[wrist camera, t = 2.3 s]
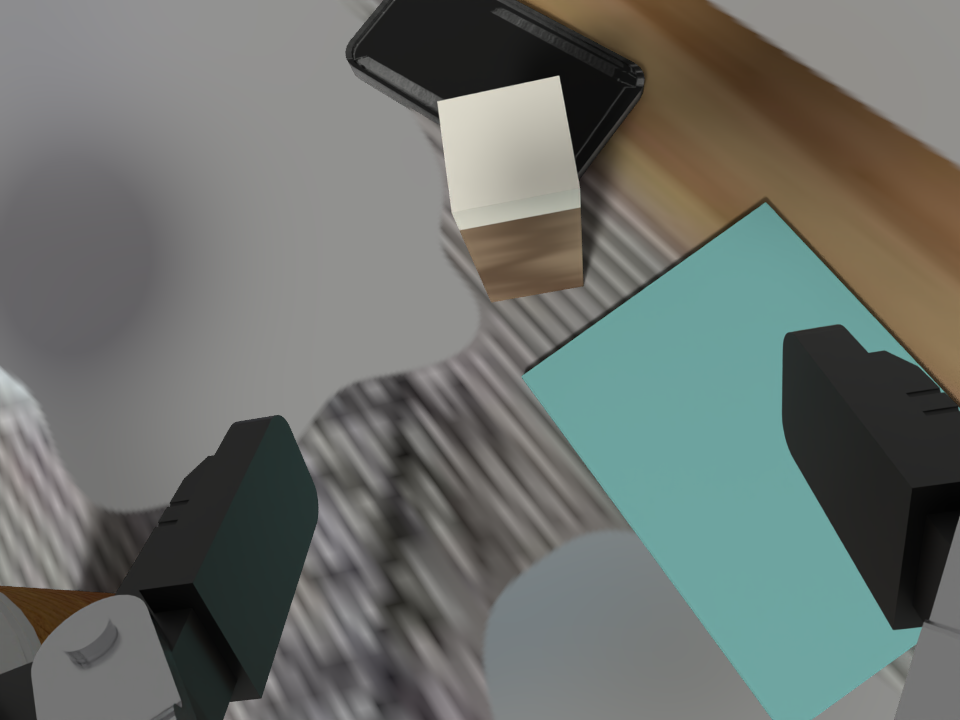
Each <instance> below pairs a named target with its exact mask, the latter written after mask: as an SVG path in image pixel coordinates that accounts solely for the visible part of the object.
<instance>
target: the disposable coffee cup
mask: <svg viewBox="0 0 960 720" xmlns="http://www.w3.org/2000/svg"><path fill="white" fill-rule="evenodd" d="M111 596H115V594H113V593H100V592H86V591H71V590H53V589H40V588H26V587H12V586H0V674H2V673H5V672H7V671H10V670H12V669H15V668H17V667H20V666H23V665H25V664H28V663H30V662H33V660H34V658H35V656H36V654H37V652H38V650H39V648H40V647H41V645H42V644H43V642H44V641H45V640H46V639H47V637H48V636H49V635H50V634H51V633H52V632H53V631H54V630H55V629H56V628H57V627H58V626H59V625H60V624H61V623H62V622H64V621H65V620H66V619H67V618H69V617H70V616H71V615H73V614H74V613H76V612H77V611H79V610H80V609H82V608H84V607H86V606H88V605H90V604H92V603H94V602H96V601H99V600H101V599H104V598H108V597H111Z"/></svg>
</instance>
